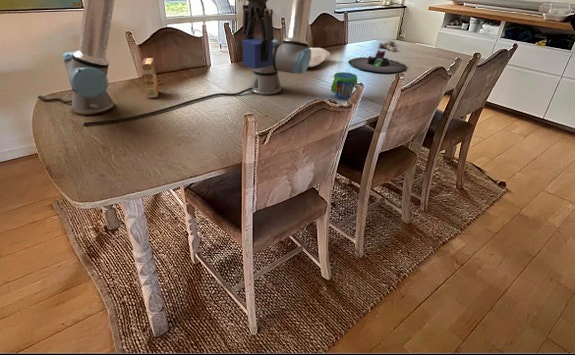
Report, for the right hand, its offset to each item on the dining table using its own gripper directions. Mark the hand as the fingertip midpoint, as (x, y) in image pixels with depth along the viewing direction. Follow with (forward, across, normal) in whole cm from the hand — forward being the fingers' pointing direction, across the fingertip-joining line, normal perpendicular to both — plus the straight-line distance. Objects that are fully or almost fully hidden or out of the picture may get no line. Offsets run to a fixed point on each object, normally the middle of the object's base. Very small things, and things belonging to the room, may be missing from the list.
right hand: (257, 58), depth 132 cm
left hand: (-8, +45, +81) cm, 93 cm away
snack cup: (+26, -1, -50) cm, 56 cm away
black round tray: (+26, +23, -109) cm, 115 cm away
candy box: (+25, +53, +20) cm, 62 cm away
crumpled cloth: (+26, +50, -74) cm, 93 cm away
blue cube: (+2, 0, 0) cm, 2 cm away
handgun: (+26, +45, -156) cm, 165 cm away
